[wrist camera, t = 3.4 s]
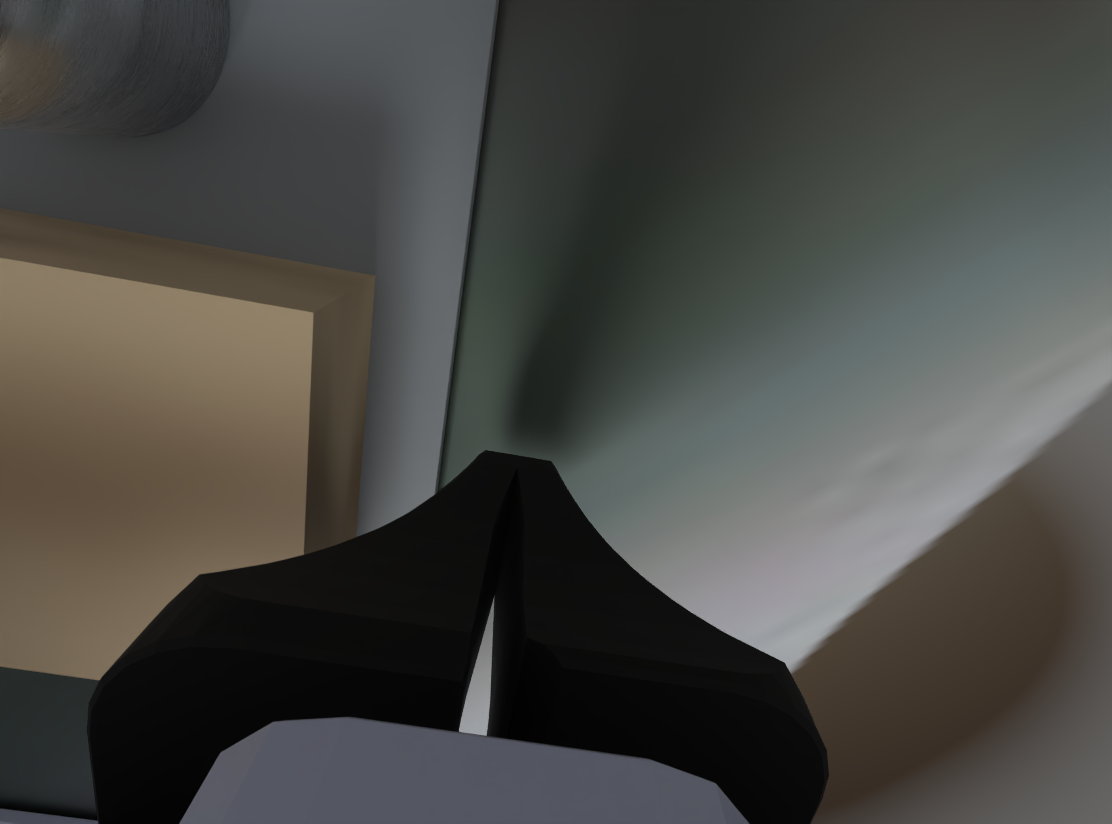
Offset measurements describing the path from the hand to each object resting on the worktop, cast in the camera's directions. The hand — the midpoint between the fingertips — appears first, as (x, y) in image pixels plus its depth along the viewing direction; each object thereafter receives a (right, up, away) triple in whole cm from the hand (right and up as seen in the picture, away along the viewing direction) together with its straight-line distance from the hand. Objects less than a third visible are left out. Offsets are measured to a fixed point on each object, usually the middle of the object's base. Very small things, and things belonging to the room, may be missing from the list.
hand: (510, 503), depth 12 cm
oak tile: (-6, +2, +1) cm, 7 cm away
